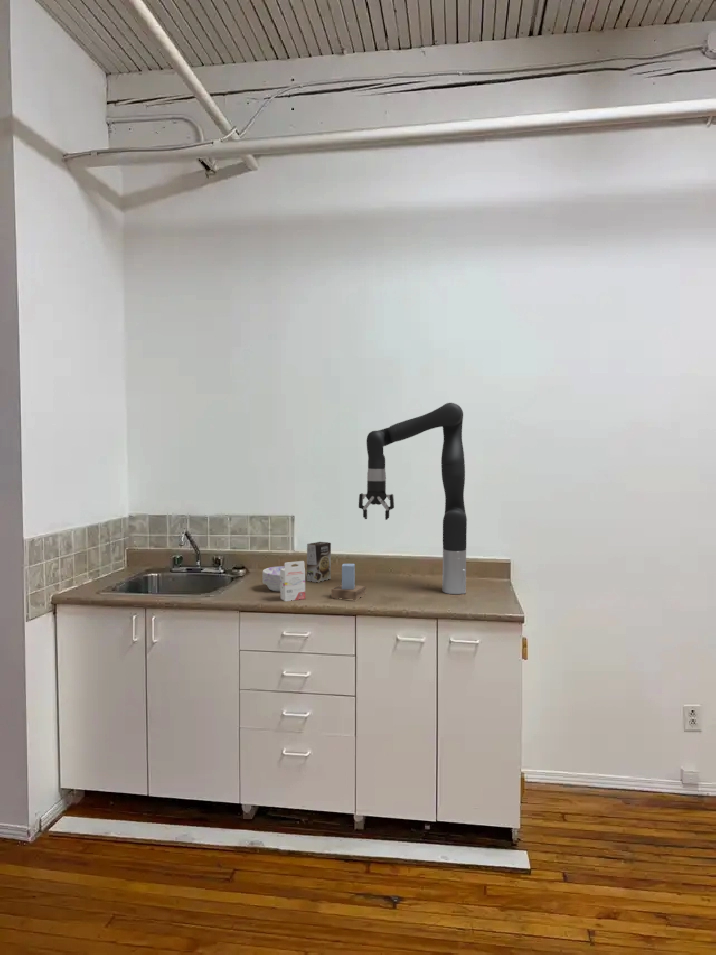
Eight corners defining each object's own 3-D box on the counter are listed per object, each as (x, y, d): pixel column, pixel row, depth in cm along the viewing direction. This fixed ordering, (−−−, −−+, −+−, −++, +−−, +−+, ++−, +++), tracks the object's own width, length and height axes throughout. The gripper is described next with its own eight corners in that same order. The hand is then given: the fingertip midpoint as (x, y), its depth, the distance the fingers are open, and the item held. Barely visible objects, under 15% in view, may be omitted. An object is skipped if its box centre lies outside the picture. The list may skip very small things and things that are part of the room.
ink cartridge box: (300, 596, 260) (300, 558, 259) (305, 599, 255) (305, 560, 254) (279, 598, 256) (279, 560, 255) (284, 601, 251) (284, 562, 251)
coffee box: (317, 583, 283) (317, 545, 282) (306, 581, 287) (306, 543, 286) (331, 579, 290) (331, 542, 289) (320, 577, 294) (320, 540, 293)
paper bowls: (268, 594, 262) (268, 574, 261) (258, 586, 276) (257, 567, 275) (305, 591, 268) (305, 571, 268) (293, 583, 282) (293, 564, 282)
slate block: (354, 586, 261) (354, 563, 260) (353, 589, 256) (353, 566, 256) (342, 586, 261) (342, 563, 261) (341, 589, 256) (341, 566, 256)
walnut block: (365, 596, 262) (365, 586, 262) (355, 602, 253) (355, 591, 253) (342, 593, 266) (342, 584, 266) (331, 599, 257) (331, 589, 256)
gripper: (357, 480, 271) (357, 519, 272) (392, 480, 268) (392, 520, 269) (360, 478, 278) (360, 517, 279) (395, 479, 276) (394, 518, 277)
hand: (376, 519), depth 274 cm, fingers open, 8 cm apart
